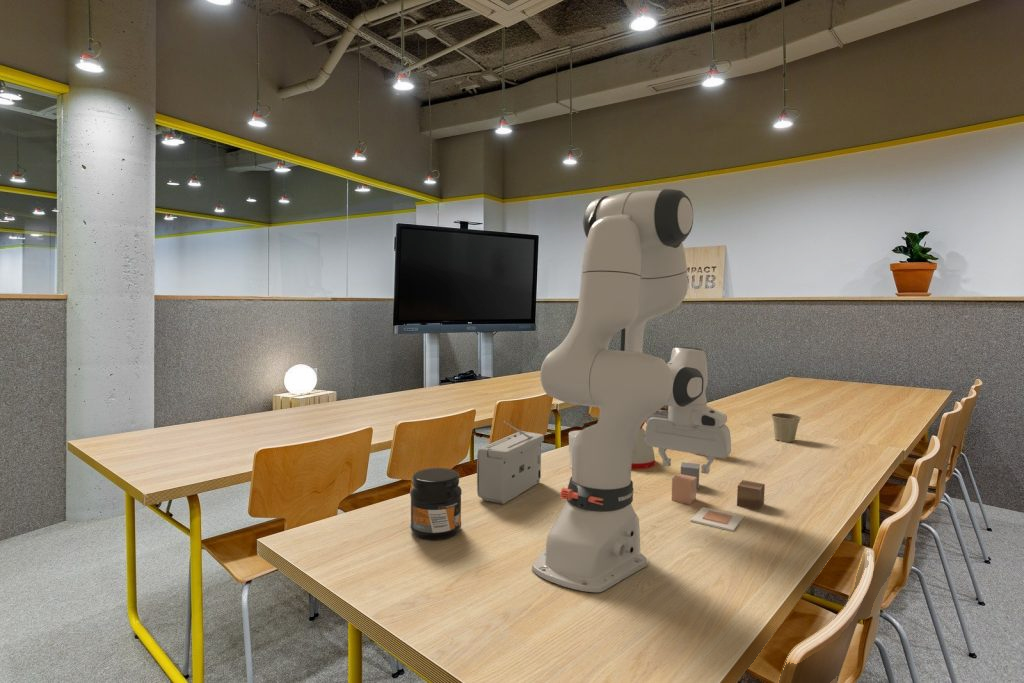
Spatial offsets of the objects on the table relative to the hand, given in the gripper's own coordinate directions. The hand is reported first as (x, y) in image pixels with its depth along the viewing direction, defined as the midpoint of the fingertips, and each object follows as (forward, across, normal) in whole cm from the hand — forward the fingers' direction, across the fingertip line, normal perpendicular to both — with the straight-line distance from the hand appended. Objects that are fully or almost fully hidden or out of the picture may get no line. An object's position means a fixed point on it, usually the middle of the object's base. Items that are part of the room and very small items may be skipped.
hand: (685, 469), depth 136 cm
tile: (+7, +10, -9) cm, 15 cm away
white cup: (+8, -32, +7) cm, 34 cm away
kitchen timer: (+8, -23, +21) cm, 32 cm away
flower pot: (+10, +10, +78) cm, 79 cm away
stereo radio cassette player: (+7, -37, -21) cm, 43 cm away
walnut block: (+8, +14, +5) cm, 17 cm away
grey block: (+8, -2, +10) cm, 13 cm away
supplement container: (+6, -36, -50) cm, 62 cm away
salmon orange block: (+7, 0, -1) cm, 7 cm away
